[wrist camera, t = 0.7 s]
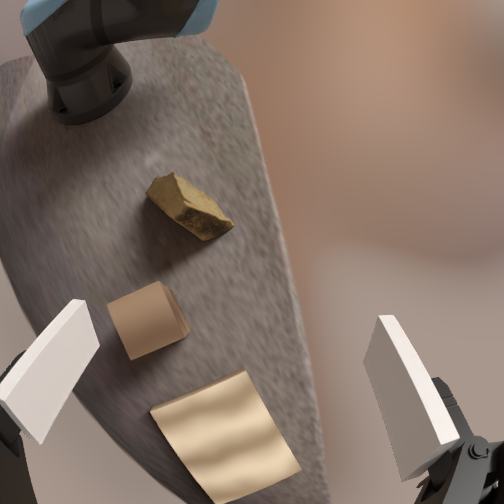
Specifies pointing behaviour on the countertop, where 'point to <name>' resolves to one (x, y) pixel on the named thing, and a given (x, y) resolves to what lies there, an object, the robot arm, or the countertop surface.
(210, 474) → the cutting board
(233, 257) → the countertop surface
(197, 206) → the rock
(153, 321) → the walnut block
